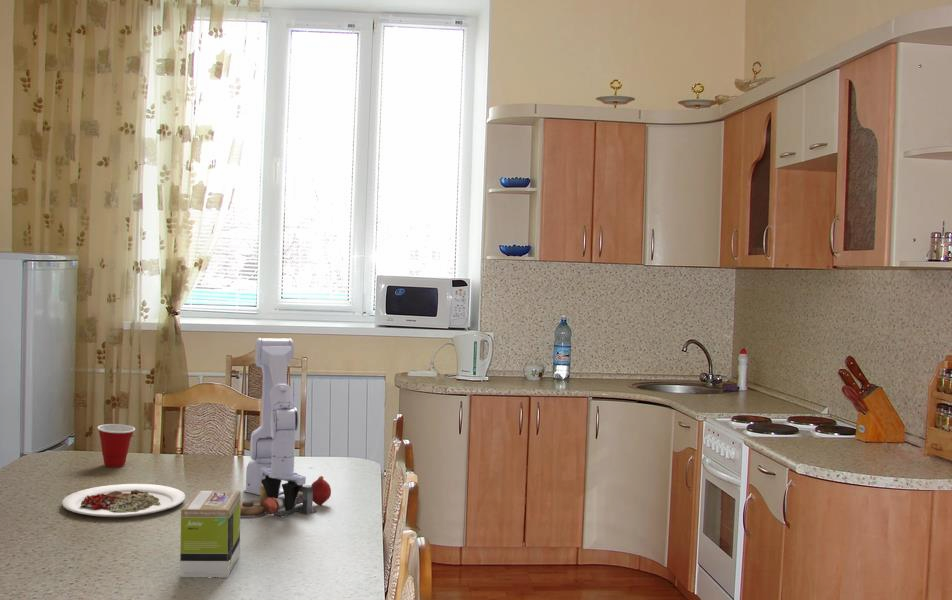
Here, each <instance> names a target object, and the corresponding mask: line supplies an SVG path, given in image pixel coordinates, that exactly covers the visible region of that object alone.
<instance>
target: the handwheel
mask: <svg viewBox="0 0 952 600" xmlns="http://www.w3.org/2000/svg"><path fill="white" fill-rule="evenodd" d="M266 498H268V497H267V493H266V490H265V488H264V486H263V485H261V486H260V495H259V500H257V499H240V515H255V514H260V513H264V512H265V510H264V506H263V504H264V501H265V499H266Z"/></svg>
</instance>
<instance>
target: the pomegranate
mask: <svg viewBox="0 0 952 600" xmlns="http://www.w3.org/2000/svg"><path fill="white" fill-rule="evenodd" d="M310 486H313V502H312V503H315V504H316V505H317V506H323V504H324V503H326V502H327V501H328V500H329V499H330V497H331V494H332V489H331V486H330V483H328V482H327V480H325V479H324V476H323V475H319V476H318V478H317V479H316V480H315V481H314V482H312V483H311V485H310Z"/></svg>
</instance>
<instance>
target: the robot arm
mask: <svg viewBox="0 0 952 600" xmlns="http://www.w3.org/2000/svg"><path fill="white" fill-rule="evenodd" d="M294 346H295V345H294V340H293V339H292V338H290V337H289V338H261V337H258V338H257V339H256V341H255V345H254V347H255V349H254V350H255V351H254V355H255V356H254V363H255V366H256V367H259V368H261V372H262V388H261V389H262V392H261V393H262V395H261V399H262V400H261V425H260V426H258V428H256V429H254V430H252V432H251V434H250V441H249V455H250V459H251V460H249V462H248V463H247V465H246V472H245V476H246V477H245V488H244V489H243V492H246V493H250V494H254V495H258V496H260V486H261V485H263V486H264V488H265V490H266V493H267V497H268V498H269V497H274V498H279V495H281V494H283V496H284V497H285V510H286V511H289V510H292V509H293V506H294V503H295V500H296V497H297V495H298V492H299V491H300V489H301V487H302V486H303V484H307V483H306V482H307V481H306V478H307V477H306V476H305V475H302V474H300V473H297V472H296V471H295V447H296V446H295V445H296V432H297V431H298V428H299V413H298V409H297V406H296V405H295V403H294V395H293V389H292V387H291V386H290V385H289V384H288V379H287V378H288V375H287V374H288V372H287V371H288V370H287V369H288V368H287V367H288V366H289V365H290V364H291V362H292V360H293V359H294V355H295V354H294V351H295V347H294ZM282 481H284V482H285V483H282ZM287 482H288V483H287ZM281 487H282V488H281Z"/></svg>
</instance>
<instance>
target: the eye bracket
mask: <svg viewBox="0 0 952 600" xmlns="http://www.w3.org/2000/svg"><path fill="white" fill-rule="evenodd" d="M286 483H288V481H286ZM299 492H303V503H301V504H297V505H294V506H293V509H292V510H289V511H286V510H285V508H283V509H280V510H278V511H277V512H276V513H274V514H273V517H277V518H284V517H286V516H290V515H293V514H297V513H298V514H301V515H306V516H308V515H311V514H315V513H317V510H313V503H314V502H313V486H311V485H309V484H307V483H305V484H303V486H302V487H301V489H300V491H299Z"/></svg>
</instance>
